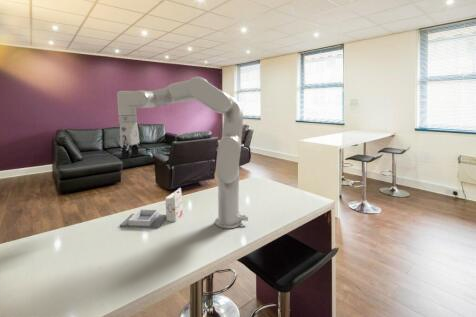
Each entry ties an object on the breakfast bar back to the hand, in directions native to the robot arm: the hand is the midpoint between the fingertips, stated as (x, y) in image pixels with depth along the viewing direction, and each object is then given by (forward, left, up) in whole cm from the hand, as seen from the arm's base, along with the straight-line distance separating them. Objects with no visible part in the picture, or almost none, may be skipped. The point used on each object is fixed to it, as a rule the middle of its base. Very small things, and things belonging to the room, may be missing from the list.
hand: (130, 156), depth 125 cm
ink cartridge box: (-18, -4, -32) cm, 36 cm away
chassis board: (-5, +1, -31) cm, 32 cm away
